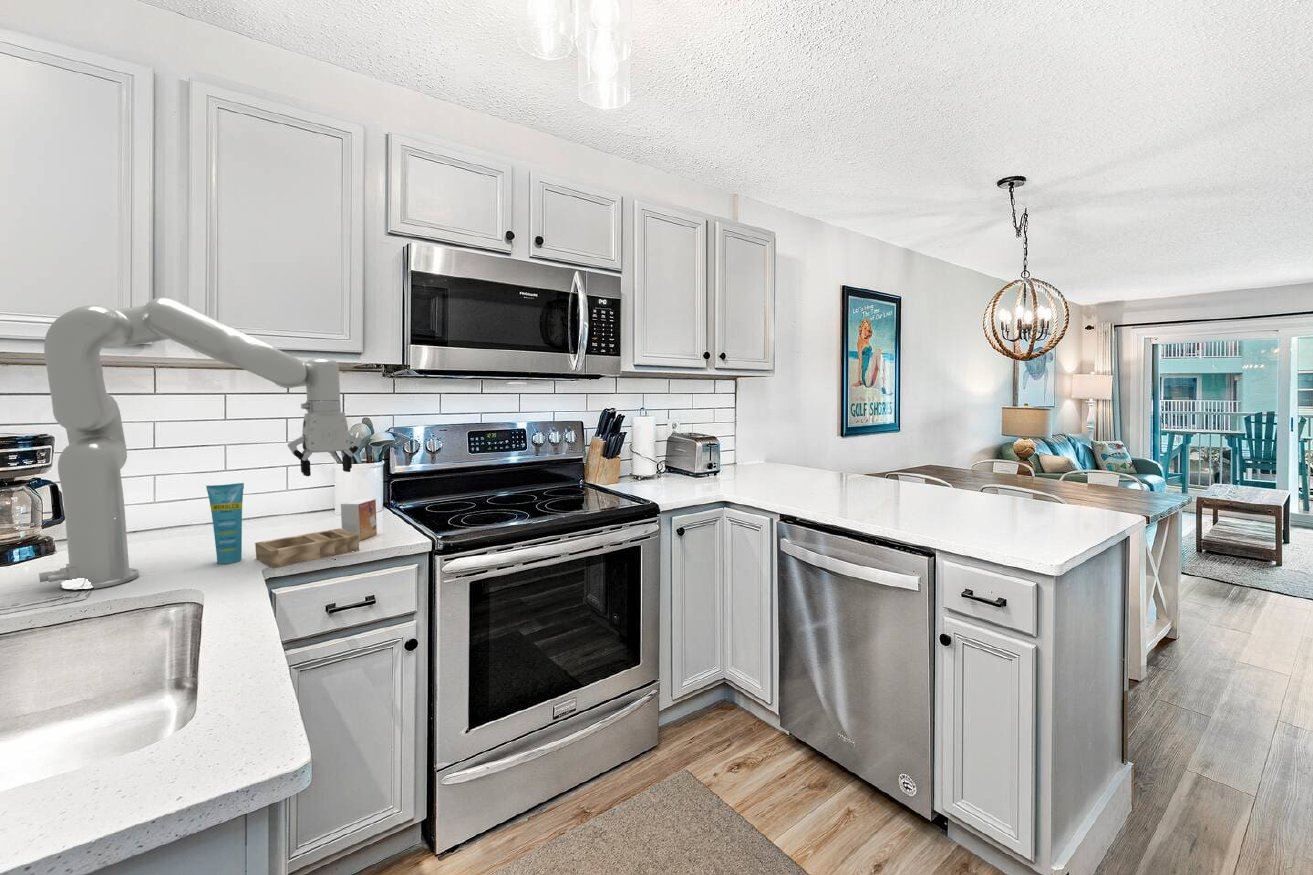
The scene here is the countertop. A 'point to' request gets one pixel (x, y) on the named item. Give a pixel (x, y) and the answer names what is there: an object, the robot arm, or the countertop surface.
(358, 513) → the small box
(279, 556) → the holder block
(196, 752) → the countertop surface
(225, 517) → the tube
